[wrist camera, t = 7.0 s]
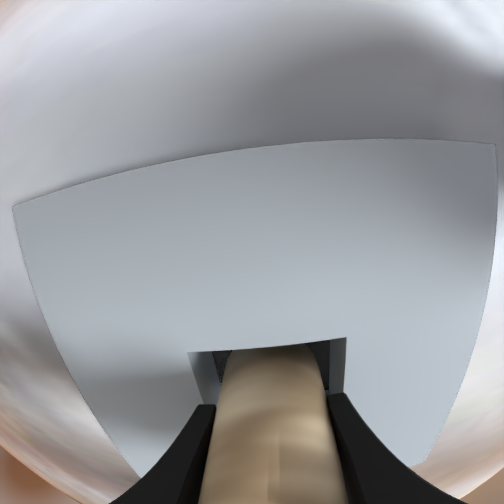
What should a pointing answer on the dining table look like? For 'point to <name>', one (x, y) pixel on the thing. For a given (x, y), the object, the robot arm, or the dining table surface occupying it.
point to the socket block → (270, 279)
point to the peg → (272, 432)
